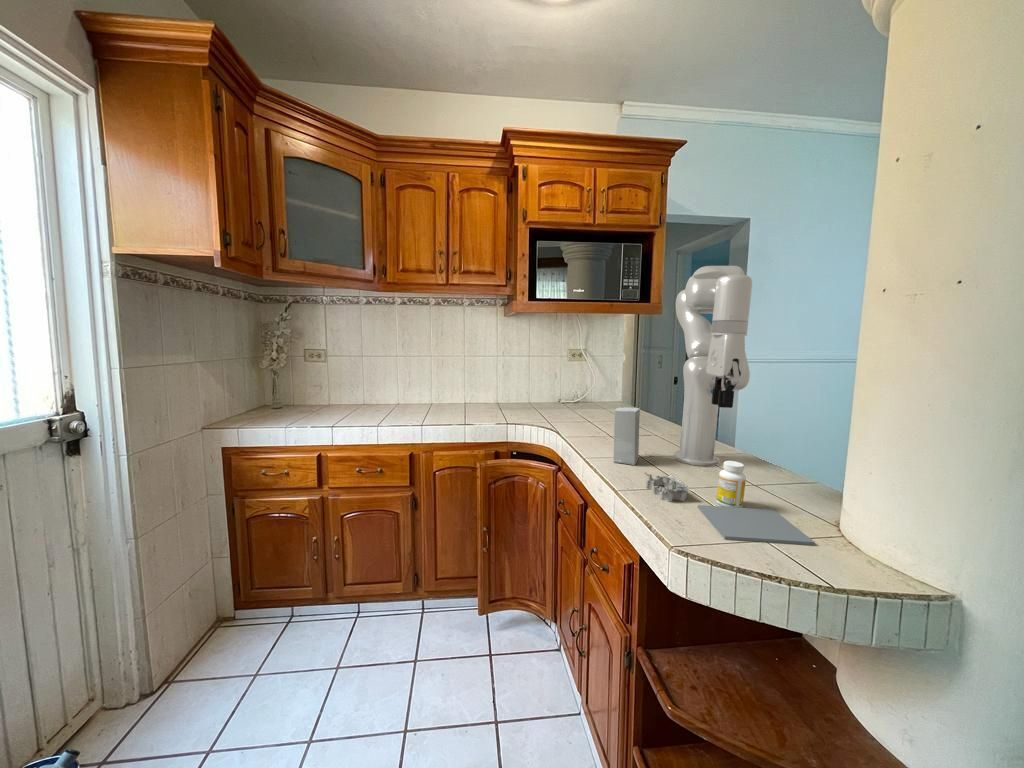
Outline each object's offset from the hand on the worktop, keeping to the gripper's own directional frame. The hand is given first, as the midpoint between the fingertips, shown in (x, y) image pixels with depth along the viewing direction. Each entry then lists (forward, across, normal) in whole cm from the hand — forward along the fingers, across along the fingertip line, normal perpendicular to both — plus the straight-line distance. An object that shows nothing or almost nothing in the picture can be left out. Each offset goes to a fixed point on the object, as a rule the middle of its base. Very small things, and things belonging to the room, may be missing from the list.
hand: (721, 405), depth 99 cm
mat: (+21, +19, 0) cm, 28 cm away
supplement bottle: (+21, +9, 0) cm, 23 cm away
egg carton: (+22, +4, -13) cm, 26 cm away
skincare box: (+21, -20, -18) cm, 34 cm away
